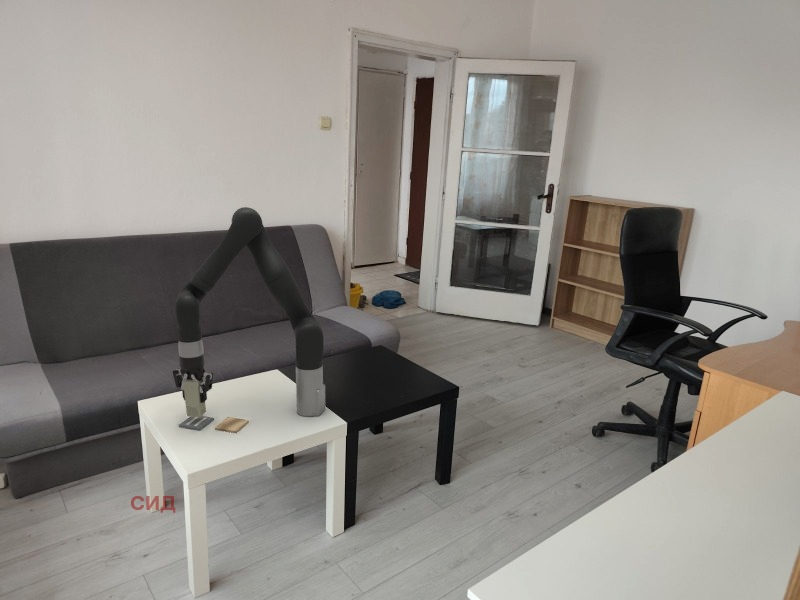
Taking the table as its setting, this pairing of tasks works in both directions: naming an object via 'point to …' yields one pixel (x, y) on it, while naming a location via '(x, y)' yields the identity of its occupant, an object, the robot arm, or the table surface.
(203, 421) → the pad slate
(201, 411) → the box
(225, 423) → the pad oak
